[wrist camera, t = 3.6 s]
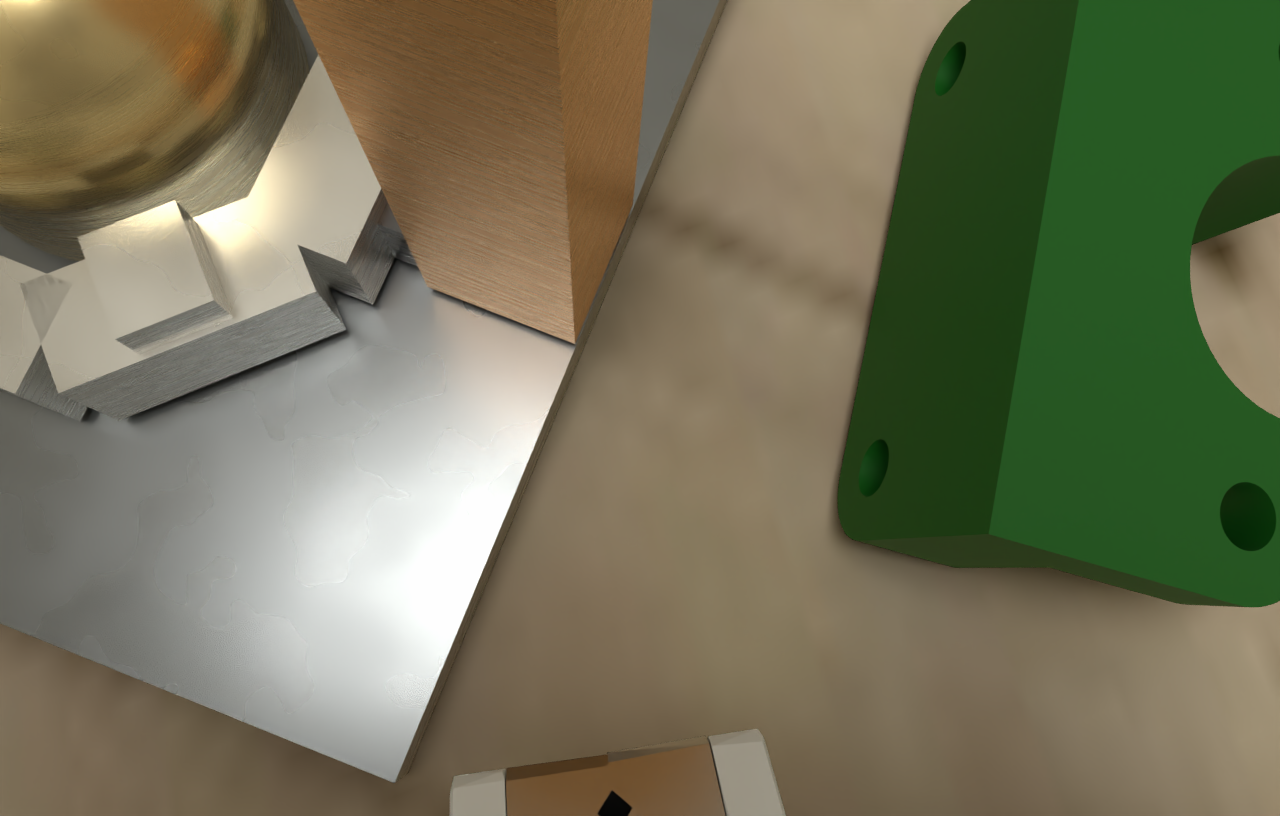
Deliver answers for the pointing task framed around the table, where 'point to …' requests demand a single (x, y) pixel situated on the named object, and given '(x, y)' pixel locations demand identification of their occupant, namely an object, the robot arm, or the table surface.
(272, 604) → the base plate
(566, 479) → the table surface
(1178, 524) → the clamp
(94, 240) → the ring of rectangular blocks
